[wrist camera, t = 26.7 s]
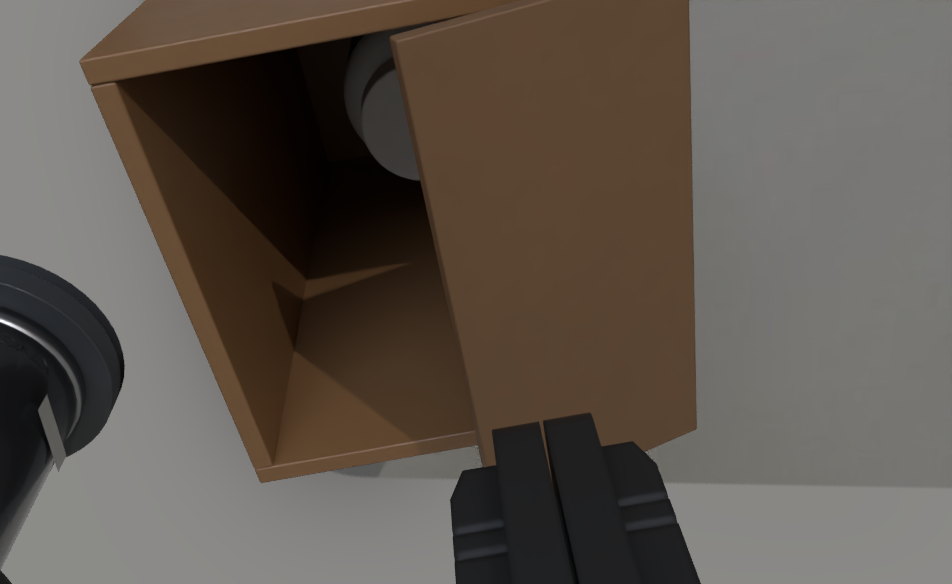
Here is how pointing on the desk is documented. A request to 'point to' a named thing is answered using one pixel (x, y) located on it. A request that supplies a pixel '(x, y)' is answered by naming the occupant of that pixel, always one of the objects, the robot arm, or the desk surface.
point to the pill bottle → (379, 101)
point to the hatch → (562, 209)
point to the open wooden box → (288, 225)
